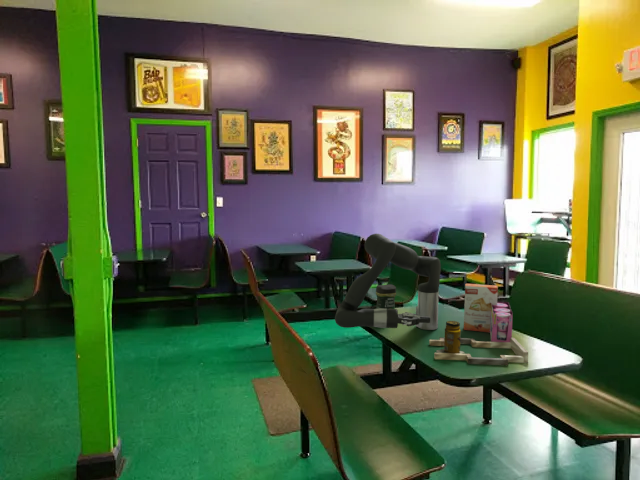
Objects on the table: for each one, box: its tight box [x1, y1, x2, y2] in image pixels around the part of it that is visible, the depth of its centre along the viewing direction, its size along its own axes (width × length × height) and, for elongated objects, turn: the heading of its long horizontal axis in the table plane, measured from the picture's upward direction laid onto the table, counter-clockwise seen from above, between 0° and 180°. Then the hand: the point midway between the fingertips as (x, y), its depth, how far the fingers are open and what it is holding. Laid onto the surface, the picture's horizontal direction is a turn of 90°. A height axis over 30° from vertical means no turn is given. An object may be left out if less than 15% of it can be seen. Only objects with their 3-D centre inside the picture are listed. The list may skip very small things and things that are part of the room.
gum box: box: [489, 301, 514, 342], centre depth 192 cm, size 24×8×14 cm, turn 161°
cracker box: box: [463, 283, 499, 333], centre depth 204 cm, size 14×6×21 cm, turn 71°
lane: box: [428, 336, 529, 366], centre depth 175 cm, size 34×24×4 cm
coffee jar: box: [375, 284, 397, 309], centre depth 217 cm, size 10×8×19 cm
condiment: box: [436, 320, 466, 354], centre depth 176 cm, size 7×8×12 cm
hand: (429, 319), depth 176 cm, fingers closed
